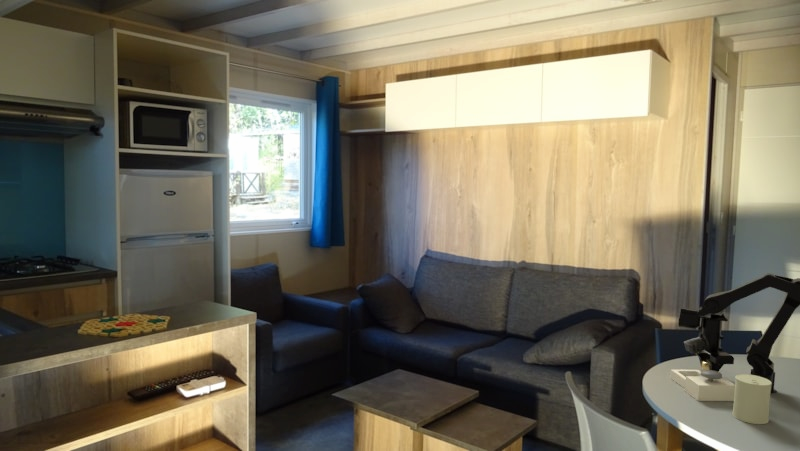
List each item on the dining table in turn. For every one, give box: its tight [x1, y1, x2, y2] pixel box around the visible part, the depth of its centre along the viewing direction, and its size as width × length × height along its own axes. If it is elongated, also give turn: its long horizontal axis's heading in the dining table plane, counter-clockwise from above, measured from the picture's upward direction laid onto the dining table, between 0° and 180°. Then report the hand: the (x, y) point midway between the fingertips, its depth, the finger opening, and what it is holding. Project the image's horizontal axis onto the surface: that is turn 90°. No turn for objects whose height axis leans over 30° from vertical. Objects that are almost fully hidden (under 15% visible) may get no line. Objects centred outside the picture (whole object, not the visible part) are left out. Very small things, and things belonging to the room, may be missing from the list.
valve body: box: [669, 369, 735, 402], centre depth 193 cm, size 12×20×8 cm, turn 2°
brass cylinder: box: [700, 360, 710, 371], centre depth 202 cm, size 4×4×6 cm
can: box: [731, 373, 772, 425], centre depth 171 cm, size 9×9×12 cm
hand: (708, 375), depth 203 cm, fingers closed on brass cylinder, 4 cm apart
